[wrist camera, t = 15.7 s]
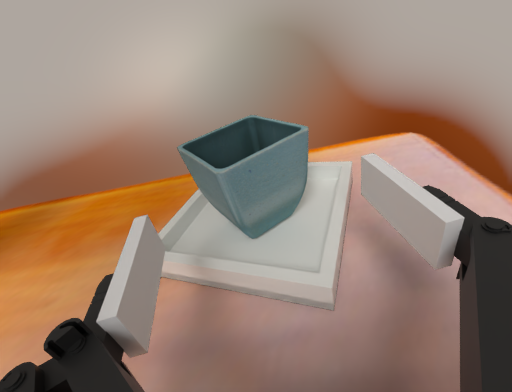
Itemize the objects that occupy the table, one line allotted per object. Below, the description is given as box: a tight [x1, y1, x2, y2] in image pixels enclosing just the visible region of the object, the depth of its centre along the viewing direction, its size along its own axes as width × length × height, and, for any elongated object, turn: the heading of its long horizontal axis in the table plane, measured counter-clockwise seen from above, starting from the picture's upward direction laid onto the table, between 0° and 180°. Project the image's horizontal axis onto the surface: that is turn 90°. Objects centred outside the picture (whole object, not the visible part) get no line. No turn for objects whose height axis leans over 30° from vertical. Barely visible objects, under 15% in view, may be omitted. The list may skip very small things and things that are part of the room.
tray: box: [158, 161, 352, 311], centre depth 28 cm, size 17×17×2 cm
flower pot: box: [177, 115, 308, 239], centre depth 25 cm, size 9×9×9 cm
